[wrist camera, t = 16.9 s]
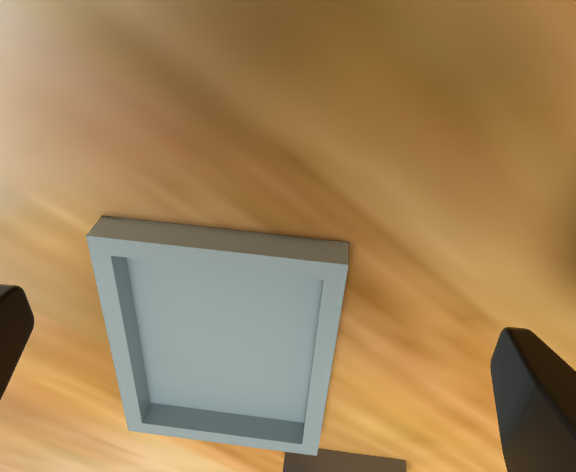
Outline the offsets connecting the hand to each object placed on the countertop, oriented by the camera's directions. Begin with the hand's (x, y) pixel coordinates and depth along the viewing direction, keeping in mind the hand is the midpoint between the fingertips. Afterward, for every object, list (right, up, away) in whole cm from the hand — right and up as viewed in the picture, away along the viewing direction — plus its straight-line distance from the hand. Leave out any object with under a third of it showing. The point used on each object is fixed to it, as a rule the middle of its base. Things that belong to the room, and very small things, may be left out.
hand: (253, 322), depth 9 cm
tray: (-3, -4, +19) cm, 19 cm away
